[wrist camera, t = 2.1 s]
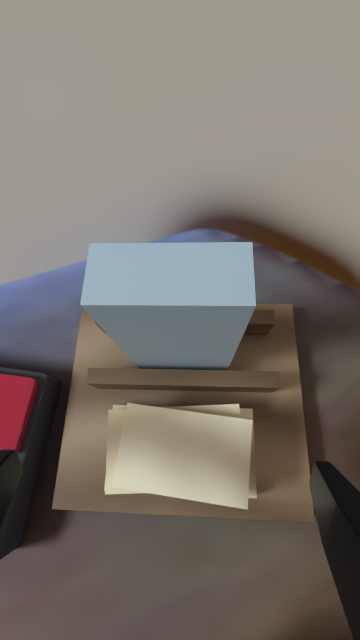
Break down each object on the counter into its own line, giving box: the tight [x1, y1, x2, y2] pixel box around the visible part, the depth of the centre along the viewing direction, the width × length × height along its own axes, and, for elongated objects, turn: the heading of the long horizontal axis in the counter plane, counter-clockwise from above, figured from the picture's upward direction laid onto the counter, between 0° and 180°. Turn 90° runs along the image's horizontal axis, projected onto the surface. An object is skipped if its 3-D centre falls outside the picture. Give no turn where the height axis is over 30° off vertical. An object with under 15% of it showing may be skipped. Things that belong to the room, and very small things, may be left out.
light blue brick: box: [80, 242, 256, 370], centre depth 17 cm, size 2×6×12 cm, turn 88°
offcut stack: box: [104, 403, 257, 510], centre depth 18 cm, size 5×9×3 cm, turn 88°
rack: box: [52, 304, 315, 522], centre depth 21 cm, size 14×16×4 cm
